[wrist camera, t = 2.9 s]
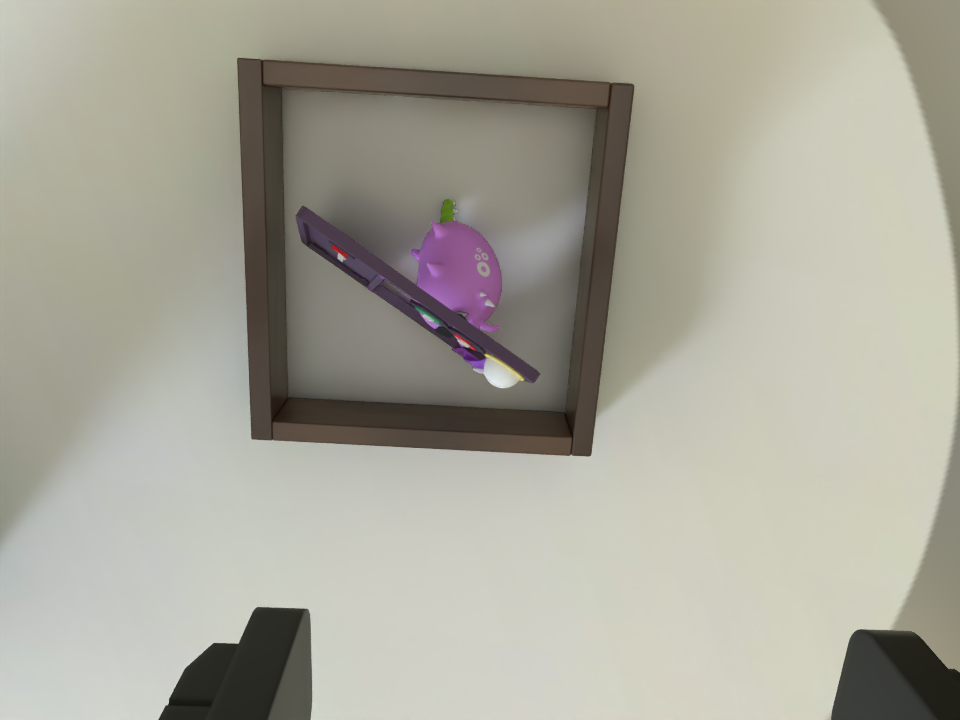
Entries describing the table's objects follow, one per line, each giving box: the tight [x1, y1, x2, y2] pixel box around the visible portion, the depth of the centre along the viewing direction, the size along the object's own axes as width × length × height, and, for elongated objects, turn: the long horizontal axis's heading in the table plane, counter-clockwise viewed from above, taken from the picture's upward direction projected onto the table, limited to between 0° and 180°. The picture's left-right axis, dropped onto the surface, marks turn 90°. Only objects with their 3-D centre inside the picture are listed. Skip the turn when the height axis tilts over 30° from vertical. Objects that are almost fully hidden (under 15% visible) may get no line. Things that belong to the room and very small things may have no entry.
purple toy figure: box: [296, 199, 540, 388], centre depth 26 cm, size 7×5×9 cm
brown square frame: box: [237, 58, 634, 456], centre depth 28 cm, size 13×14×3 cm
